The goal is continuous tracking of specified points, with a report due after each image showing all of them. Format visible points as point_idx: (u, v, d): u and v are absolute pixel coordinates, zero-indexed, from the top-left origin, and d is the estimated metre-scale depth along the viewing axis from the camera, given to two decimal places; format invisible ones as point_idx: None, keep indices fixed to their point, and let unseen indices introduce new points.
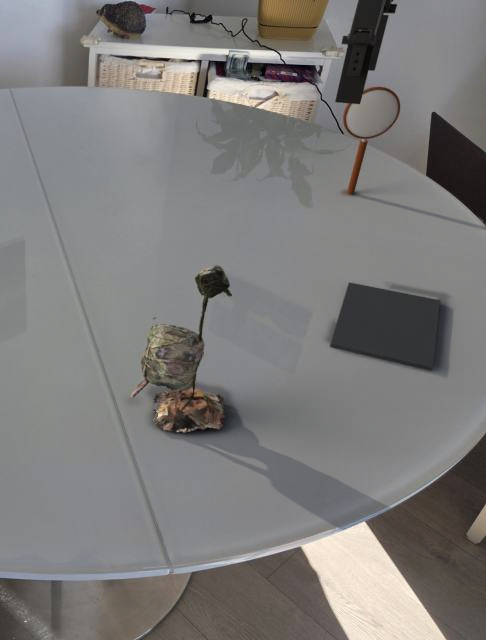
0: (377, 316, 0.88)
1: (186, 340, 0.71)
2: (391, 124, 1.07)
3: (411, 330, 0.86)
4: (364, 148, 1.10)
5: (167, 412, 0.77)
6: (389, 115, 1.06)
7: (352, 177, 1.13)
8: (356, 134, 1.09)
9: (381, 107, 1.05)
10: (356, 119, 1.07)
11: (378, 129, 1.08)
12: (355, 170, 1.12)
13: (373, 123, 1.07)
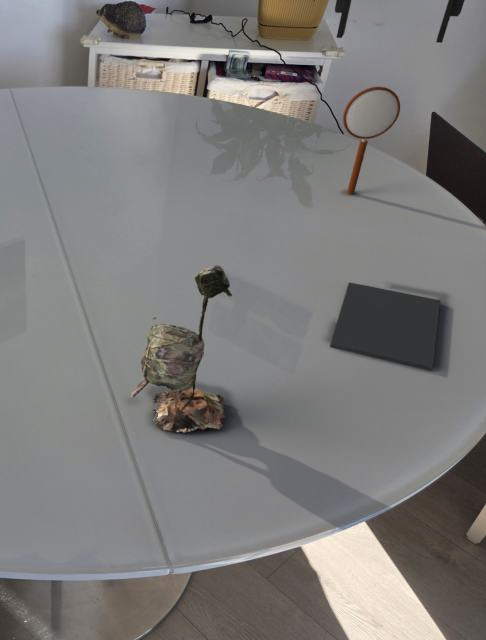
0: (377, 316, 0.88)
1: (186, 340, 0.71)
2: (391, 124, 1.07)
3: (411, 330, 0.86)
4: (364, 148, 1.10)
5: (167, 412, 0.77)
6: (389, 115, 1.06)
7: (352, 177, 1.13)
8: (356, 134, 1.09)
9: (381, 107, 1.05)
10: (356, 119, 1.07)
11: (378, 129, 1.08)
12: (355, 170, 1.12)
13: (373, 123, 1.07)
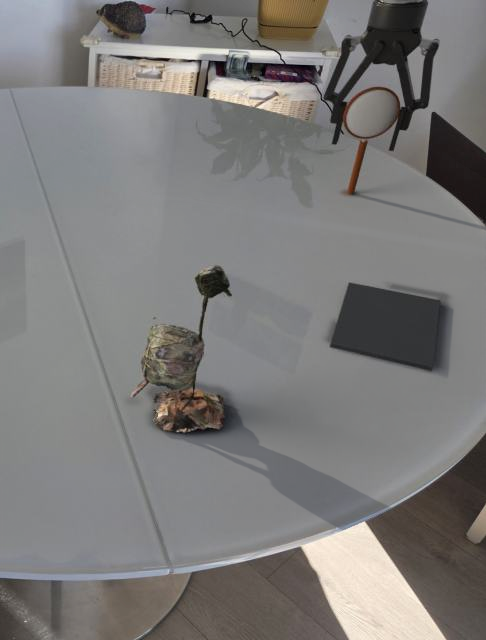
0: (377, 316, 0.88)
1: (186, 340, 0.71)
2: (391, 124, 1.07)
3: (411, 330, 0.86)
4: (364, 148, 1.10)
5: (167, 412, 0.77)
6: (389, 115, 1.06)
7: (352, 177, 1.13)
8: (356, 134, 1.09)
9: (381, 107, 1.05)
10: (356, 119, 1.07)
11: (378, 129, 1.08)
12: (355, 170, 1.12)
13: (373, 123, 1.07)
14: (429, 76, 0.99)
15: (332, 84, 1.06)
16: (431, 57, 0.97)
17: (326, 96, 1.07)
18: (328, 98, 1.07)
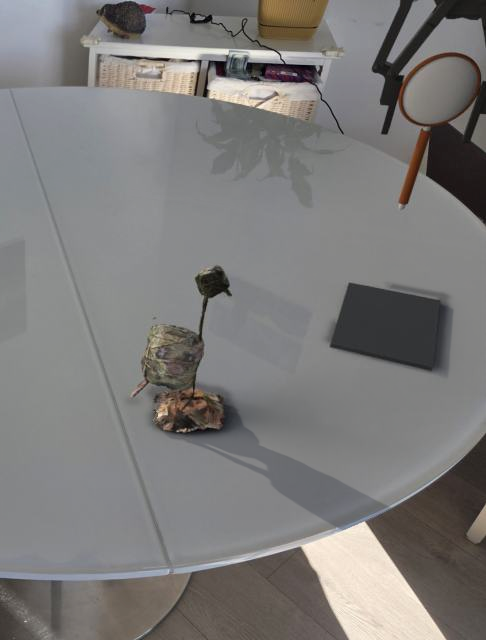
0: (377, 316, 0.88)
1: (186, 340, 0.71)
2: (467, 106, 0.77)
3: (411, 330, 0.86)
4: (426, 140, 0.80)
5: (167, 412, 0.77)
6: (465, 93, 0.76)
7: (408, 179, 0.83)
8: (416, 120, 0.79)
9: (455, 81, 0.75)
10: (418, 98, 0.77)
11: (448, 113, 0.77)
12: (413, 170, 0.82)
13: (441, 104, 0.77)
14: None
15: (385, 49, 0.76)
16: None
17: (376, 67, 0.77)
18: (378, 70, 0.77)
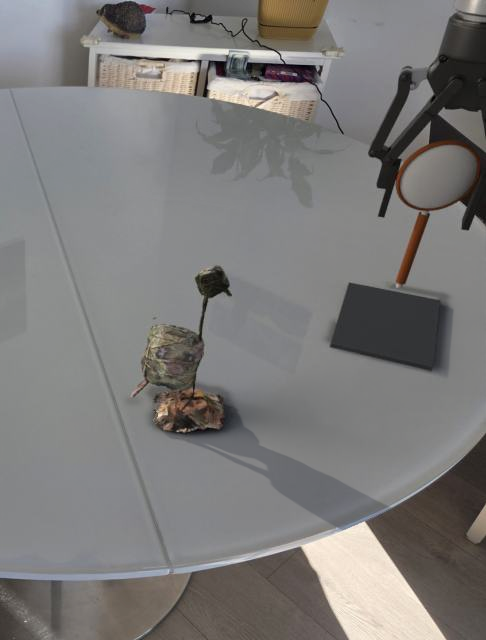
0: (377, 316, 0.88)
1: (186, 340, 0.71)
2: (466, 192, 0.75)
3: (411, 330, 0.86)
4: (425, 223, 0.78)
5: (167, 412, 0.77)
6: (464, 180, 0.74)
7: (405, 260, 0.81)
8: (414, 204, 0.77)
9: (454, 169, 0.73)
10: (416, 184, 0.75)
11: (446, 199, 0.75)
12: (411, 252, 0.80)
13: (440, 191, 0.75)
14: None
15: (382, 135, 0.74)
16: None
17: (372, 152, 0.75)
18: (375, 154, 0.75)
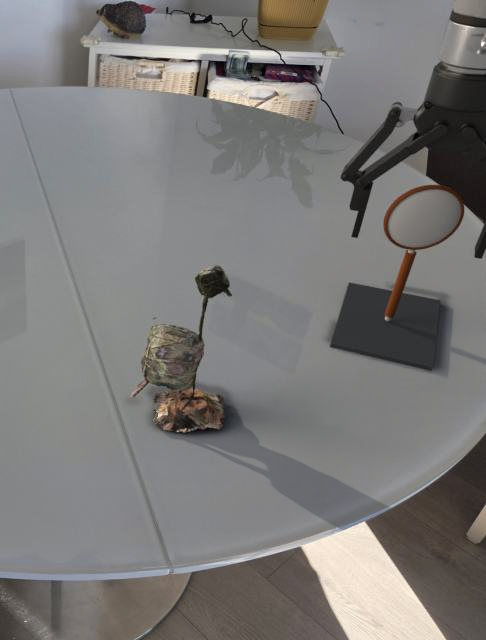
0: (377, 316, 0.88)
1: (186, 340, 0.71)
2: (450, 233, 0.78)
3: (411, 330, 0.86)
4: (411, 261, 0.81)
5: (167, 412, 0.77)
6: (448, 222, 0.77)
7: (393, 295, 0.84)
8: (401, 243, 0.80)
9: (438, 211, 0.76)
10: (403, 225, 0.78)
11: (432, 239, 0.79)
12: (398, 288, 0.83)
13: (425, 231, 0.78)
14: None
15: (358, 162, 0.77)
16: None
17: (345, 175, 0.78)
18: (347, 179, 0.78)
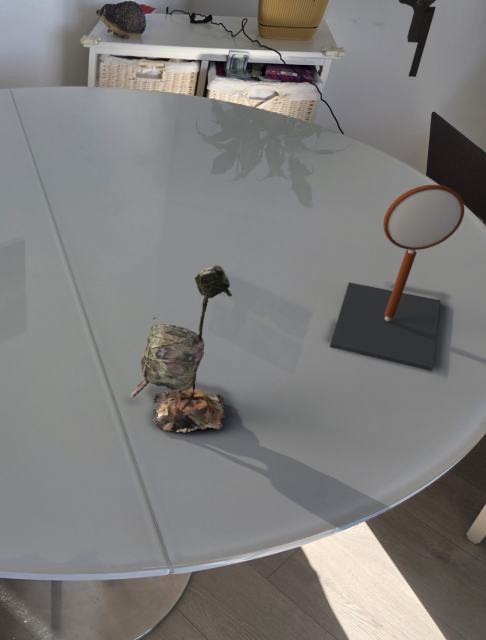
0: (377, 316, 0.88)
1: (186, 340, 0.71)
2: (450, 233, 0.78)
3: (411, 330, 0.86)
4: (411, 261, 0.81)
5: (167, 412, 0.77)
6: (448, 222, 0.77)
7: (393, 295, 0.84)
8: (401, 243, 0.80)
9: (438, 211, 0.76)
10: (403, 225, 0.78)
11: (432, 239, 0.79)
12: (398, 288, 0.83)
13: (425, 231, 0.78)
14: None
15: None
16: None
17: None
18: (406, 0, 0.67)
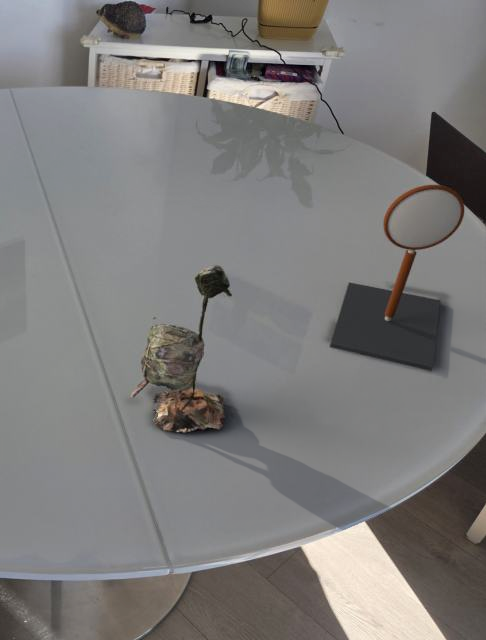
0: (377, 316, 0.88)
1: (186, 340, 0.71)
2: (450, 233, 0.78)
3: (411, 330, 0.86)
4: (411, 261, 0.81)
5: (167, 412, 0.77)
6: (448, 222, 0.77)
7: (393, 295, 0.84)
8: (401, 243, 0.80)
9: (438, 211, 0.76)
10: (403, 225, 0.78)
11: (432, 239, 0.79)
12: (398, 288, 0.83)
13: (425, 231, 0.78)
14: None
15: None
16: None
17: None
18: None
